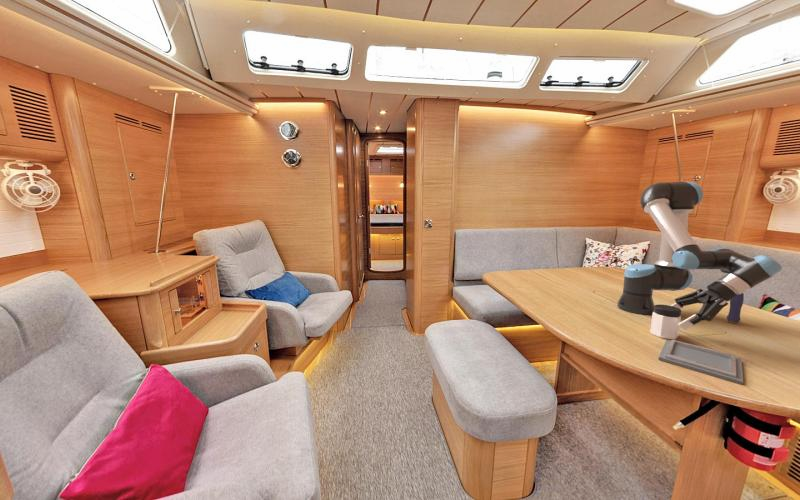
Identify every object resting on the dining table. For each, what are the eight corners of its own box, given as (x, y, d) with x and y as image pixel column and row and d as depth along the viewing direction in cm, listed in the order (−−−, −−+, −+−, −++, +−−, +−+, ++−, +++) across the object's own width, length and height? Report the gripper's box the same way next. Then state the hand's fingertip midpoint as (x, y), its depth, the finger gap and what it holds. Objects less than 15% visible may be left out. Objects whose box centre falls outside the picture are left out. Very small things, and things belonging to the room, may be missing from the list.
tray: (665, 357, 98) (665, 354, 98) (671, 342, 109) (671, 339, 108) (735, 377, 86) (736, 373, 86) (734, 358, 97) (735, 355, 96)
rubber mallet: (716, 322, 127) (726, 258, 122) (710, 316, 133) (720, 255, 129) (758, 328, 120) (770, 261, 115) (749, 322, 126) (761, 258, 122)
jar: (674, 341, 111) (678, 313, 109) (647, 334, 118) (651, 307, 116) (680, 335, 116) (684, 308, 114) (654, 328, 123) (658, 302, 121)
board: (658, 359, 99) (658, 357, 99) (666, 341, 111) (666, 339, 111) (742, 384, 84) (743, 381, 84) (740, 361, 97) (741, 358, 96)
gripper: (762, 306, 94) (698, 340, 102) (713, 286, 117) (664, 315, 125) (743, 289, 95) (681, 325, 103) (698, 273, 118) (650, 303, 126)
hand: (671, 320), depth 114 cm, fingers open, 13 cm apart
